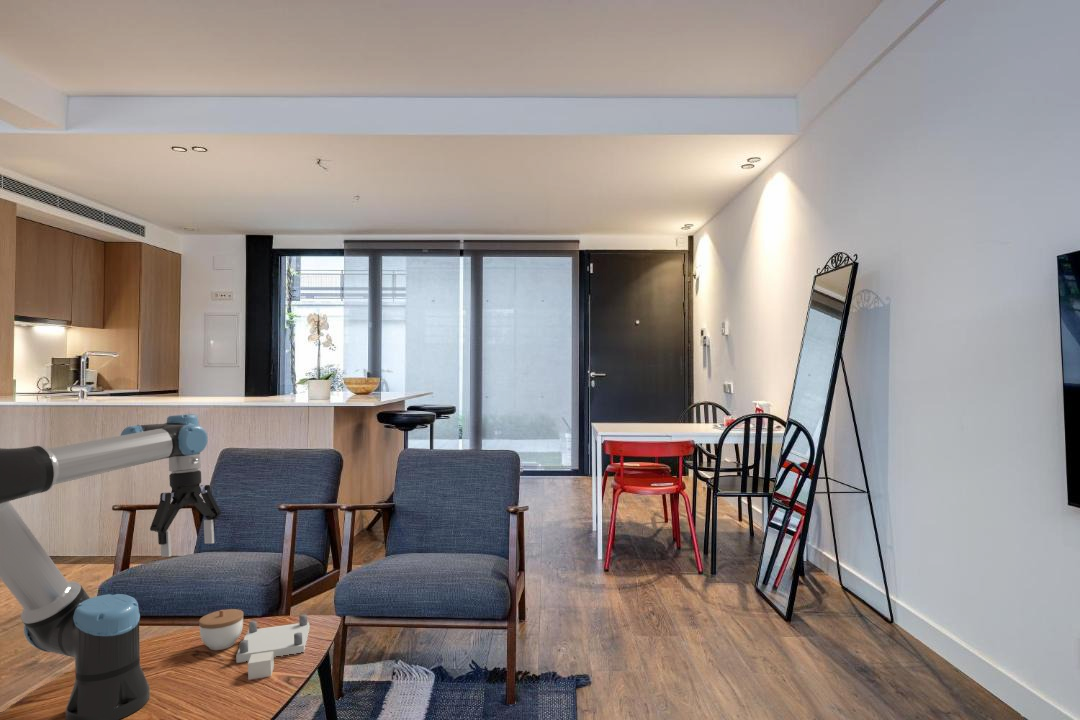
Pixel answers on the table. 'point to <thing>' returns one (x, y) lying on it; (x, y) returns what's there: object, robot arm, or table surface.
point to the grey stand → (274, 639)
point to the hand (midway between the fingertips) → (188, 549)
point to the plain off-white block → (260, 665)
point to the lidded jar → (221, 628)
